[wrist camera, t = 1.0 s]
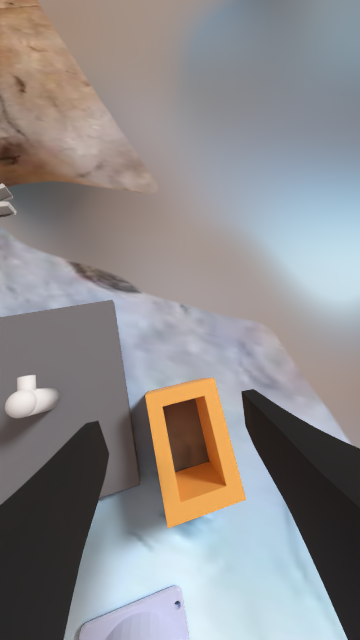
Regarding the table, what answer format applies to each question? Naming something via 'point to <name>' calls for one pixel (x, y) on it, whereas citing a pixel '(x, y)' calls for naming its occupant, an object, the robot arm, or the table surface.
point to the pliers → (5, 208)
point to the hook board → (63, 392)
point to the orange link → (204, 479)
